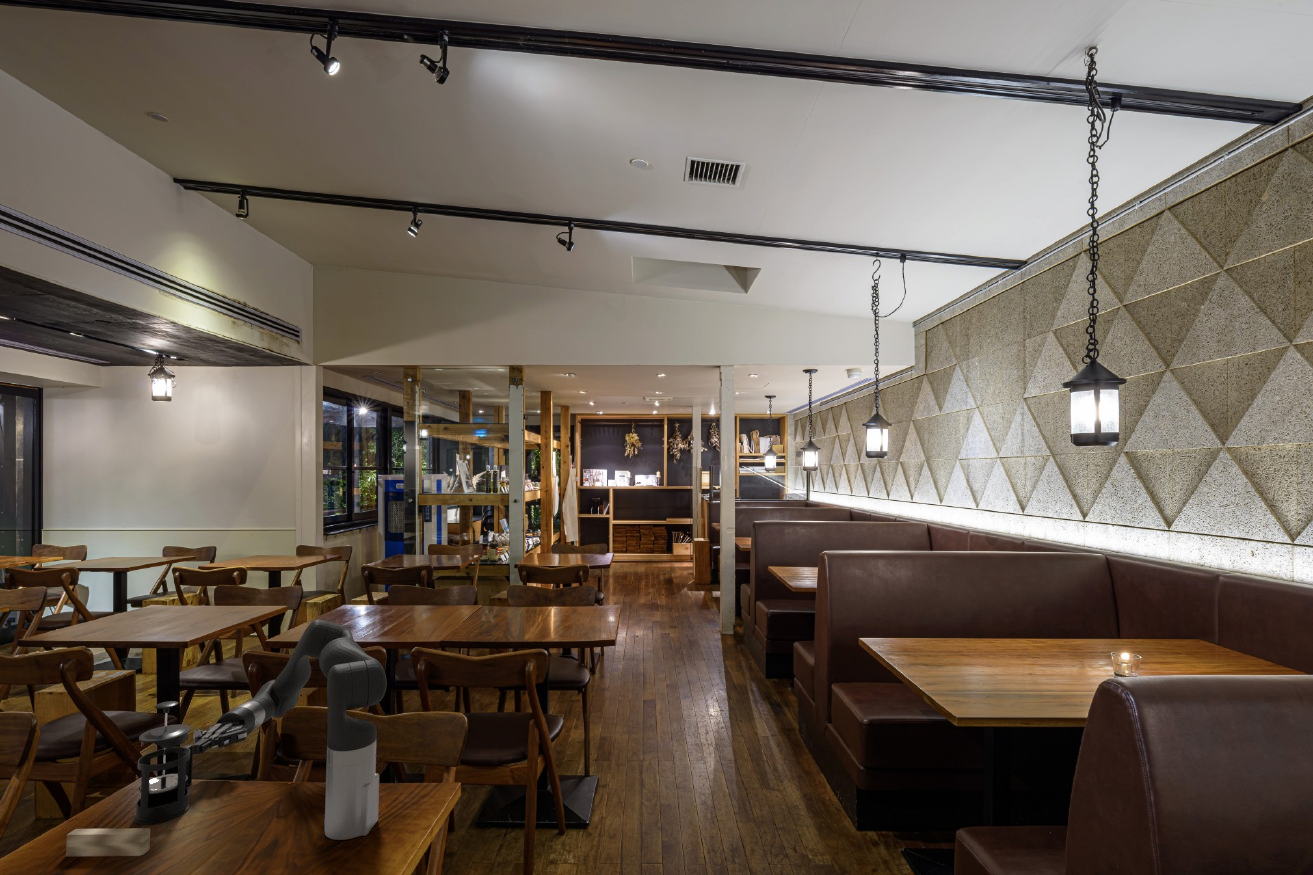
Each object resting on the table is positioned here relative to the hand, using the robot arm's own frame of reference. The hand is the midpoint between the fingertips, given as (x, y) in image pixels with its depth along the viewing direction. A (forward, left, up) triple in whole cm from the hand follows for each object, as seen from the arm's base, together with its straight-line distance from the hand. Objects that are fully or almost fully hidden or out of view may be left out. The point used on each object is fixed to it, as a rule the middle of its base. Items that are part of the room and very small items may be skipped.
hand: (195, 750), depth 151 cm
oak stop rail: (0, +24, -9) cm, 26 cm away
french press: (0, +10, -9) cm, 13 cm away
